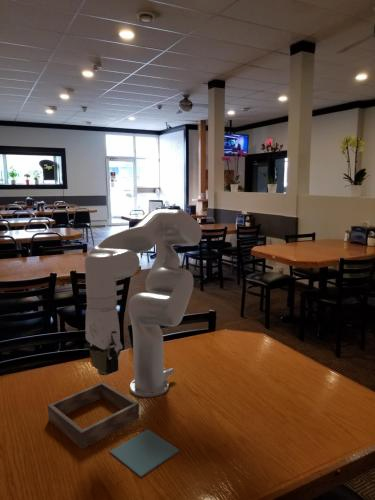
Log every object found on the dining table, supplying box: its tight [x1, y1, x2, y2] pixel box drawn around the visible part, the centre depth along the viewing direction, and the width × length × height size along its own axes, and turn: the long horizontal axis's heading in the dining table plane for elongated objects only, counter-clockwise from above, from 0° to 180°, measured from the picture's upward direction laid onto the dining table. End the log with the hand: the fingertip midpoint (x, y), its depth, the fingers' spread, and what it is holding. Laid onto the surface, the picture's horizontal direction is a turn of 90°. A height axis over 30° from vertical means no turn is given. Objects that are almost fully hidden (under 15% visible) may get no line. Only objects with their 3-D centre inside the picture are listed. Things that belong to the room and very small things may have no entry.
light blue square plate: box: [109, 428, 180, 478], centre depth 94 cm, size 12×12×1 cm
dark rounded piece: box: [88, 343, 114, 376], centre depth 100 cm, size 8×7×8 cm
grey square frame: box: [47, 381, 140, 450], centre depth 107 cm, size 18×18×4 cm
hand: (104, 366), depth 101 cm, fingers closed on dark rounded piece, 6 cm apart
